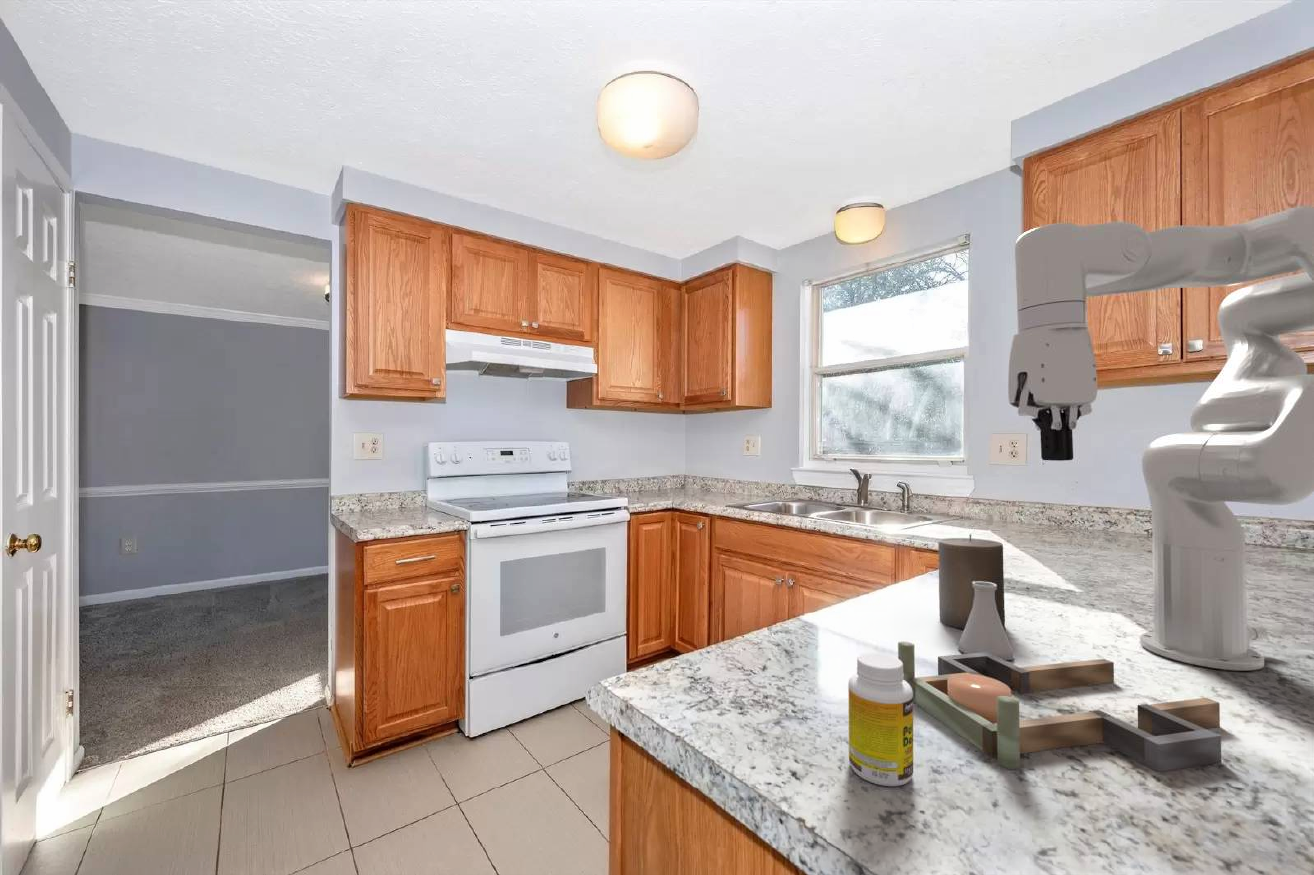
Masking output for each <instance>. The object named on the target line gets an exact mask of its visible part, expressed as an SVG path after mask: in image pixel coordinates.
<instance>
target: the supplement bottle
mask: <svg viewBox="0 0 1314 875" xmlns="http://www.w3.org/2000/svg"><path fill="white" fill-rule="evenodd" d="M856 662H857V667H856V673H854V674H853V675H851V677H849V679H848V686H847V689H848V760H849V765H850V767H851V769H852V770H853V771H854V773H855V774H856V775H857V776H859V777H860V778H862V779H863V780H865V781H867V782H870V783H873V784H875V785H879V786H884V787H900V786H903V785H906V784H907V783H909V782H910V781H911V780H912V778H913V775H914V703H913V691H912V688H911V686H910V685H909V684H908V683H907V682H906V681H905V680H903V677H904V673H903V663H902V661H901V660H899V659H898V657H896V656H893V655H890V654H886V653H879V652H866V653H862V654H860V655H858V657H857V660H856Z"/></svg>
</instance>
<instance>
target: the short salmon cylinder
mask: <svg viewBox="0 0 1314 875" xmlns="http://www.w3.org/2000/svg"><path fill="white" fill-rule="evenodd" d="M948 696H949V697H950V698H952V699H954V700H955V701H957V702H958V703H960V704H962V705H963V706H965V707H967V708H968V709H970V710H971V711H973V712H975V713H976V714H978V715H979V716H981V717H983V718H984V719H986V720H987V721H989V722H991V723H992V724H995V723H997V697H998V696H1008V697H1012V690H1011V689H1010V688H1009V687H1008V686H1007V685H1006V684H1004V683H1002V682H1000V681H998V680H995V679H993V678H989V677H986V676H981V675H976V674H954V675H951V676H949V677H948Z"/></svg>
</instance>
